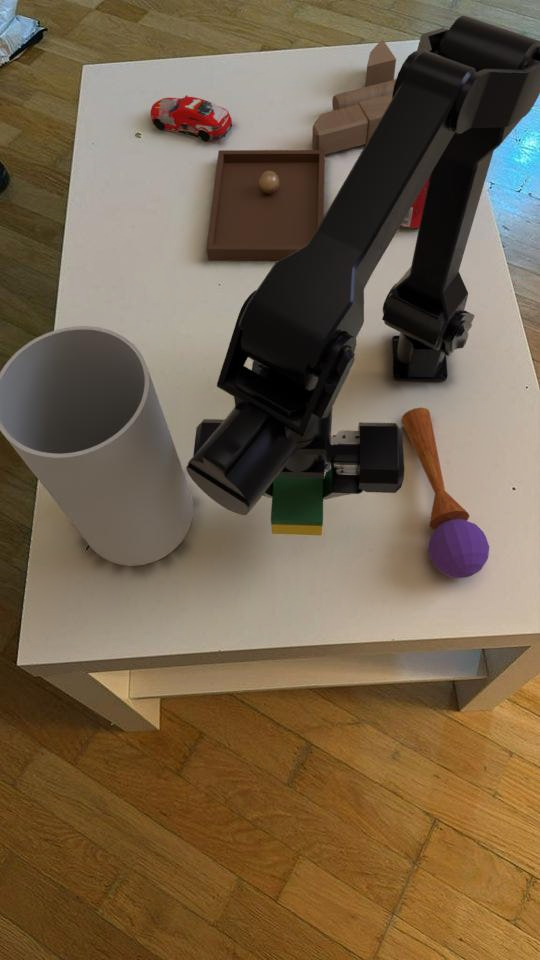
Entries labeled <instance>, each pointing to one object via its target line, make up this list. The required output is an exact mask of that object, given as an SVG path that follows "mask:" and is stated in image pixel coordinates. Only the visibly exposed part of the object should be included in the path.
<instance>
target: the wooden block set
mask: <svg viewBox="0 0 540 960" xmlns="http://www.w3.org/2000/svg"><path fill="white" fill-rule="evenodd" d="M396 64H397V58H396V57H395V55H394V54H393V52H392V51H391V49H390V48H389V46H388V45H387V43H386V42H385V40H384V39H383V38H381V40H380V41H379V42H378V43H377V44H376V45H375V46H374V48H373V49H371V51H369V55H368V60H367V65H366V73H365V75H366V76H365V83H364V84H365V85H364V86H363V87H360V88H357V89H352V90H349V91H345V92H344V91H343V92H340V93H337V94H334V95H333V96H332V102H331V105H332V111H327V112H324V113H321V114H320V115H319V116H318V118H317V120H316V121H315V122H314V124H313V125H312V128H311V129H312V131H311V132H312V133H311V134H312V135H311V137H312V138H311V139H312V140H311V141H312V143H311V144H312V145H311V150H325V156H326V155H329V154H334V153H337V152H341V151H344V150H349V149H352V148H356V147H359V146H365V145H366V144H367V142H368V140H369V138H370V137H371V135H372V133H373V131H374V130H375V128H376V126H377V125H378V123H379V121H380V119H381V118H382V116H383V114H384V112H385V111H386V109H387V107H388V106H389V104H390V102H391V100H392V95H393V89H394V85H395V82H396V79H397V78H395V73H396V72H395V71H396V66H397V65H396Z"/></svg>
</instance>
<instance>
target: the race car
mask: <svg viewBox="0 0 540 960" xmlns="http://www.w3.org/2000/svg"><path fill="white" fill-rule="evenodd" d="M150 119H151V123H152V125H153V126H154V127H155V128H156V129H157V130H158V131H163V130H166V131H170V132H174V133H177V134H181V135H184V136H185V135H186V136H190V137H193V138H199V139H200V141H203V142H204V143H207V142H209V141H211V142H213V141H214V142H215V141H219V140H222V139H224V138H226V136H227V134H228V133H229V132H230V130H231V129H232V127H233V121H232V120H233V119H232V117H231V114H230V112H229V110H227V108H225V107H222V106H220V105H217V104H216V103H213V102H211V101H209V100H206V99H203V98H199V97H195V96H188V95H187V94H186V95H185V96H183V97H181V98H179V97H164V98H161V99H159V100H157V101H156V102H154V103H153V104H152V105H151V109H150Z"/></svg>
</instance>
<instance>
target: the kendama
mask: <svg viewBox="0 0 540 960" xmlns="http://www.w3.org/2000/svg"><path fill="white" fill-rule="evenodd" d="M400 420H401V423H402V426H403V427H404V430H405V432H406V434H407V435H408V439H409V440H410V443H411V444H412V448H413V449H414V451H415V454H416V456H417V458H418V459H419V462H420V464H421V466H422V469H423V471H424V473H425V475H426V477H427V479H428V481H429V483H430V486H431V488H432V490H433V492H434V497H433V504H432V509H431V515H430V521H429V525H428V526H429V528H430V529H432V530H434V531H433V532H432V533H431V535H430V536H429V540H428V541H429V542H428V549H427V552H428V554H429V559H430V562H431V563H432V565H434V566H435V568H437V570H438V571H439V573H441V574H443V575H446V576H447V577H450V578H453V579H464V578H469V577H471V576H473V575H475V574H478V573H479V572H481V570H482V569H483V567H485V565H486V564H487V561H488V559H489V555H490V545H489V541H488V538H487V536H486V534H485V533H484V531H483V530H482V529H481V528H480V527H479V526H478V525H477V524H476V523H474V522H471V521H468V520H469V518H470V514H469V512H468V511H467V510H466V509H465V508H463V506H462V505H460V504H459V503H458V501H457V500H456V499H454V498H453V497H452V495H450V494H449V493H448V492H447V491H446V488H445V483H444V479H443V474H442V473H443V472H442V469H441V462H440V458H439V452H438V447H437V443H436V438H435V437H436V436H435V433H434V428H433V422H432V417H431V411H430V410H429V409H427V408H425V407H416V408H412V409H409V410H407V412H405V413H403V415H402V416H401V419H400Z"/></svg>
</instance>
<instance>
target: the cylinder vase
mask: <svg viewBox="0 0 540 960" xmlns="http://www.w3.org/2000/svg"><path fill="white" fill-rule="evenodd" d="M163 411H164V410H163V408H162V406H161V403H160V399H159V397H158V394H157V391H156V388H155V385H154V383H153V380H152V377H151V374H150V370H149V368H148V365H147V362H146V360H145V358H144V356H143V354H142V353H141V351H140V350H139V349H138V347H137V346H136V345H135V344H134V343H133V342H132V341H130V340H129V339H128V338H126V337H125V336H123V335H122V334H119V333H118V332H115V331H113V330H111V329H107V328H103V327H98V326H92V325H76V326H75V325H74V326H68V327H67V326H66V327H63V328H58V329H54V330H52V331H48V332H47V333H44V334H42V335H40V336H38V337H36V338H34V339H32V340H30V341H29V342H27V343H26V344H25V345H24V346H22V347H21V348H20V349H18V350H17V351H16V352H15V353H14V354H13V355H12V356H11V357H10V358H9V359H8V360H7V362H6V363H5V364H4V366H3V367H2V369H1V370H0V432H1V434H2V435H3V436H4V437H5V439H6V440H7V441H8V443H9V444H10V445H11V446H12V448H13V449H14V450H15V452H16V453H17V455H19V457H20V458H21V459H22V461H23V462H24V463H25V465H26V466H27V467H28V468H29V470H30V471H31V472H32V473H33V474H34V476H35V477H36V478H37V480H38V481H39V482H40V484H41V485H42V487H44V489H45V490H46V491H47V493H48V494H49V496H51V498H52V499H53V501H54V502H55V503H56V504H57V506H58V507H59V509H61V511H62V512H63V513H64V514H65V516H66V517H67V518H68V519H69V521H70V522H71V523H72V525H73V526H74V527H75V529H76V530H77V531H78V532H79V534H80V535H81V536H82V538H83V539H84V540H85V542H86V543H87V545H89V547H90V548H91V549H92V550H93V552H95V553H96V554H98V556H100V557H101V558H102V559H104V560H106V561H108V562H110V563H113V564H116V565H119V566H120V565H121V566H127V567H128V566H129V567H131V566H132V567H134V566H135V567H136V566H143V565H148V564H151V563H154V562H158V561H159V560H161V559H163V558H165V557H167V556H168V555H169V554H171V553H172V552H173V551H174V550H176V548H177V547H179V545H180V544H181V543H182V542H183V540H184V539H185V537H186V536H187V534H188V532H189V530H190V529H191V525H192V522H193V519H194V500H193V496H192V492H191V490H190V489H191V488H190V486H189V484H188V480H187V478H186V475H185V472H184V469H183V465H182V463H181V460H180V457H179V454H178V452H177V449H176V446H175V444H174V440H173V437H172V435H171V432H170V429H169V426H168V423H167V420H166V416H165V414H164V412H163Z"/></svg>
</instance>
